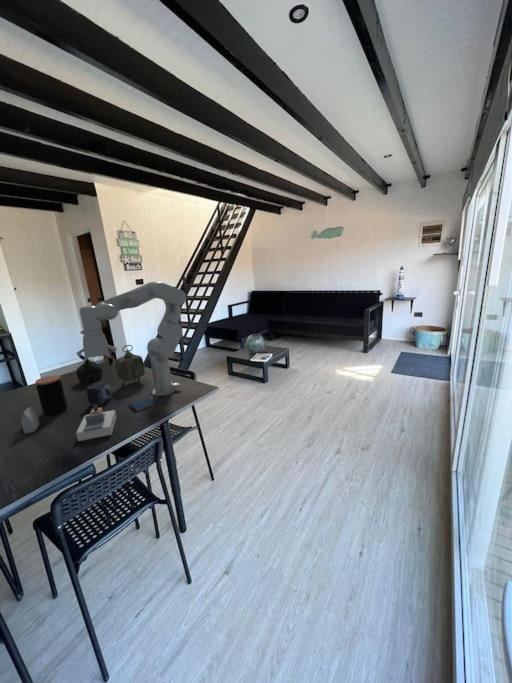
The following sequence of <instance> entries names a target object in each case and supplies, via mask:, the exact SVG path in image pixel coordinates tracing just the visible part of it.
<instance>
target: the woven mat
mask: <svg viewBox="0 0 512 683" xmlns="http://www.w3.org/2000/svg"><path fill="white" fill-rule="evenodd" d="M154 406H156V403H155V402H154V401H153V400H150V399H149V398H147V397H146V398H143V399H140V400H137V401H134V402H132V403H131V402H130V403H129V404H128V407H129V408H131V409H132V410H133V411H134V412H136V413H139V412H141V411H144V410H148V409H149V408H152V407H154Z"/></svg>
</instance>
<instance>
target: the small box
mask: <svg viewBox="0 0 512 683" xmlns="http://www.w3.org/2000/svg"><path fill="white" fill-rule="evenodd" d="M85 389H86V394H87V399H88V404H89V407H93V406H95V405H97V407H98V408H100V407H101V406H103V405H105V404H106V403H107V402H108V401H111V400H112V399H113V396H112V391H111V385H110V381H107V380H98V381H96V382H94V383H92V384H91V385H89V386H87V387H86V388H85Z"/></svg>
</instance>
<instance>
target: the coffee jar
mask: <svg viewBox="0 0 512 683" xmlns="http://www.w3.org/2000/svg"><path fill="white" fill-rule="evenodd" d="M34 383H35V385H36V388H35V389H36V391H37V394H38V400H39V403H40V406H41V410H42V413H43V414H44V415H45V416H49V417H53V416H56V415H57V416H58V415H61V414H62V413H64V412H66V411H67V409H68V401H67V397H66V394H65V389H64V386H63V381H62V380H61V375H57V374H56V375H55V374H54V375H53V374H52V375H48V376H43V377H40V378H38V379H36V380H35V381H34Z"/></svg>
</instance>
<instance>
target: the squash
mask: <svg viewBox="0 0 512 683" xmlns="http://www.w3.org/2000/svg"><path fill="white" fill-rule="evenodd" d="M89 362H90V368H89V369H87V367H86V365H85V362H83V363H82V364H81V365H79V366H78V368H76V373H75V374H76V377H77V379H78V381H79V382H80V383H86V384H92V383H97V382H99V381H101V379H102V377H103V373H104V372H103V370H104V369H103V368H102V365H100V364H99V363H97V362H94V361H92V360H91V361H90V360H89Z"/></svg>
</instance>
